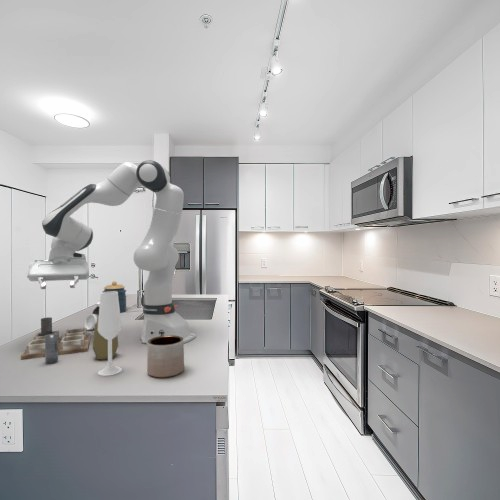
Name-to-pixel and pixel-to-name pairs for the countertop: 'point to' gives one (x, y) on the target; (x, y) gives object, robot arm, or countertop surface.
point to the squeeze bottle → (103, 345)
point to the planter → (165, 356)
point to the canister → (121, 294)
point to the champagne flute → (109, 326)
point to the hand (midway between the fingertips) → (57, 287)
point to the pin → (51, 348)
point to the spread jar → (92, 318)
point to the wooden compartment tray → (66, 345)
